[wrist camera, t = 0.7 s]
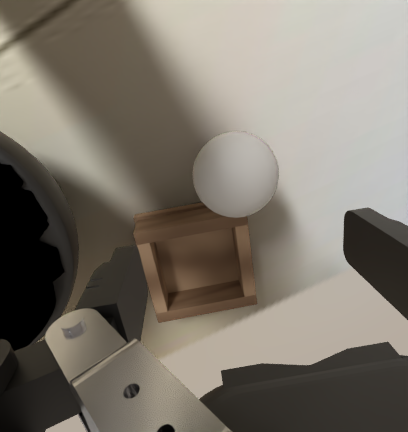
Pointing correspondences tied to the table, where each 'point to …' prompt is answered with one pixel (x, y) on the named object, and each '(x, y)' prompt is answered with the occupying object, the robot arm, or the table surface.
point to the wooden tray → (195, 261)
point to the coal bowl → (32, 247)
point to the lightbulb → (235, 174)
